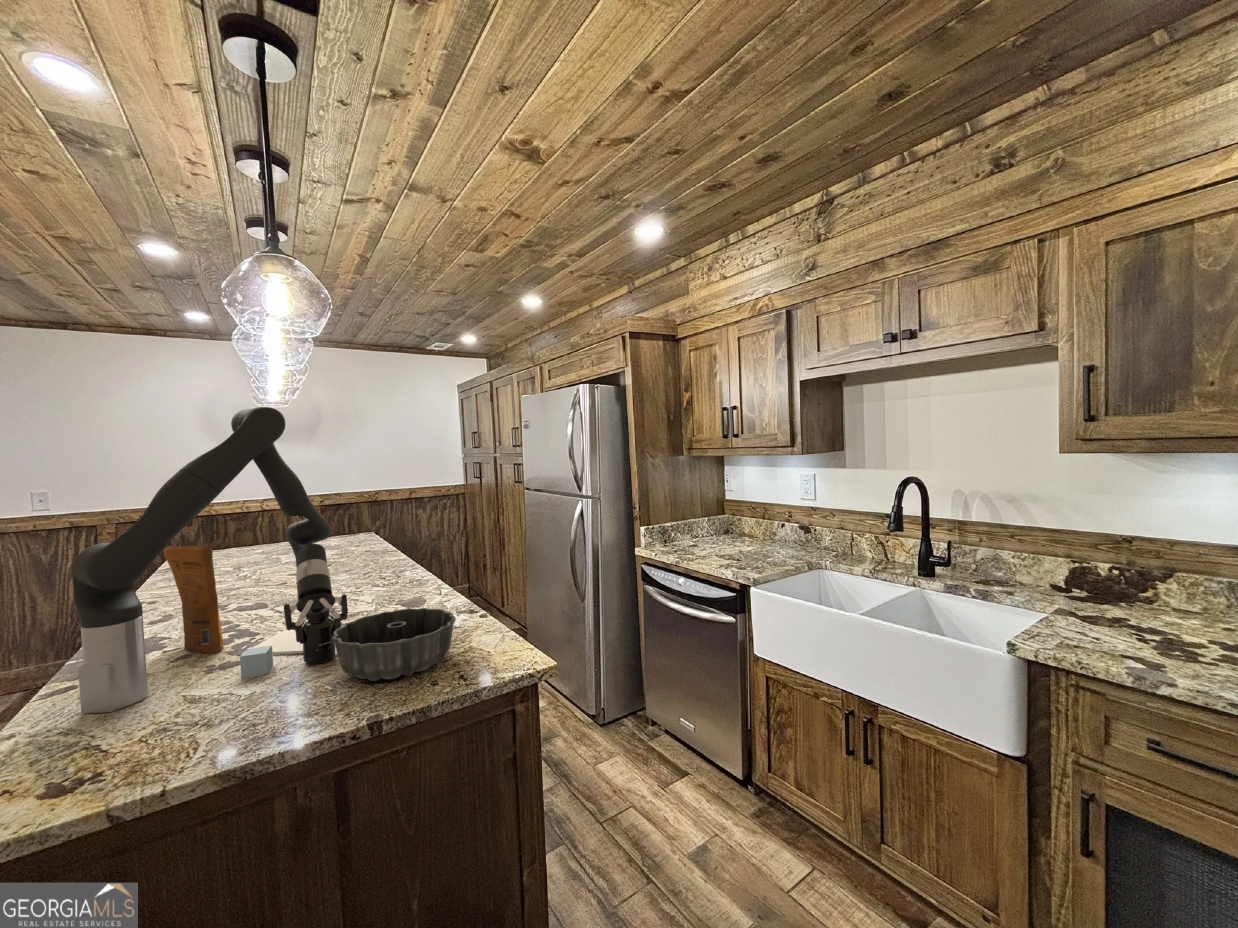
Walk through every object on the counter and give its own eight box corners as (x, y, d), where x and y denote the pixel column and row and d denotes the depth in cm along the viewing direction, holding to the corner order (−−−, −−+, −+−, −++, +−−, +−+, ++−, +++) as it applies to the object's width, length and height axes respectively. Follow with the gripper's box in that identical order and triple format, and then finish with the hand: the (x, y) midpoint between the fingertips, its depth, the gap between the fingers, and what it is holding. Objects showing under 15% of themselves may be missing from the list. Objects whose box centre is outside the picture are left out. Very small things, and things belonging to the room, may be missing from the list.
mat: (312, 653, 130) (312, 650, 130) (241, 656, 130) (241, 653, 130) (349, 628, 148) (349, 625, 148) (287, 631, 148) (286, 628, 148)
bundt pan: (410, 638, 139) (409, 601, 138) (480, 654, 125) (478, 614, 125) (310, 677, 116) (307, 633, 116) (382, 702, 102) (379, 652, 102)
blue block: (267, 674, 119) (265, 652, 119) (241, 678, 117) (239, 656, 117) (273, 665, 124) (272, 645, 123) (248, 669, 122) (247, 648, 122)
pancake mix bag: (204, 658, 130) (197, 548, 129) (167, 648, 139) (160, 545, 138) (234, 649, 136) (227, 543, 135) (197, 639, 145) (190, 540, 144)
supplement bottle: (325, 664, 122) (322, 614, 122) (297, 665, 122) (294, 615, 122) (341, 653, 129) (339, 605, 128) (314, 653, 129) (312, 606, 129)
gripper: (280, 577, 127) (284, 637, 118) (345, 568, 135) (354, 624, 126) (280, 594, 132) (284, 653, 122) (344, 584, 140) (352, 639, 130)
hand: (319, 638), depth 124 cm, fingers closed on supplement bottle, 7 cm apart
